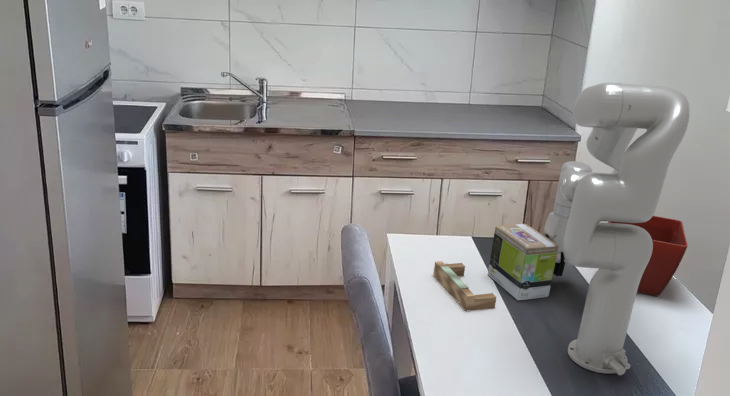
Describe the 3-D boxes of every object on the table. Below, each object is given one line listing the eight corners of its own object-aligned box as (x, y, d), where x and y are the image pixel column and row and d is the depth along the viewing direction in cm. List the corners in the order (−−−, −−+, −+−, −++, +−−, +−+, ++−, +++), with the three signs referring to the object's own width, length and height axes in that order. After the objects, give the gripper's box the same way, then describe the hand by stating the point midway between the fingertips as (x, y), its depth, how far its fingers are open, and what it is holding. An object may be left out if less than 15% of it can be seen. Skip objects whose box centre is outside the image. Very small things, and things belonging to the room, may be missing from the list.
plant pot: (595, 289, 186) (608, 231, 180) (597, 261, 203) (609, 207, 197) (672, 305, 181) (688, 246, 175) (667, 275, 198) (682, 220, 192)
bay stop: (494, 307, 172) (497, 292, 170) (465, 311, 169) (467, 295, 168) (460, 272, 188) (462, 258, 187) (433, 275, 186) (435, 260, 184)
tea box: (550, 297, 180) (560, 245, 174) (516, 302, 176) (526, 248, 171) (517, 271, 192) (526, 221, 187) (486, 275, 189) (494, 224, 184)
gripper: (584, 203, 185) (572, 265, 191) (535, 205, 180) (524, 269, 187) (602, 213, 178) (588, 278, 185) (551, 216, 174) (539, 282, 180)
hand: (556, 273), depth 186 cm, fingers closed
